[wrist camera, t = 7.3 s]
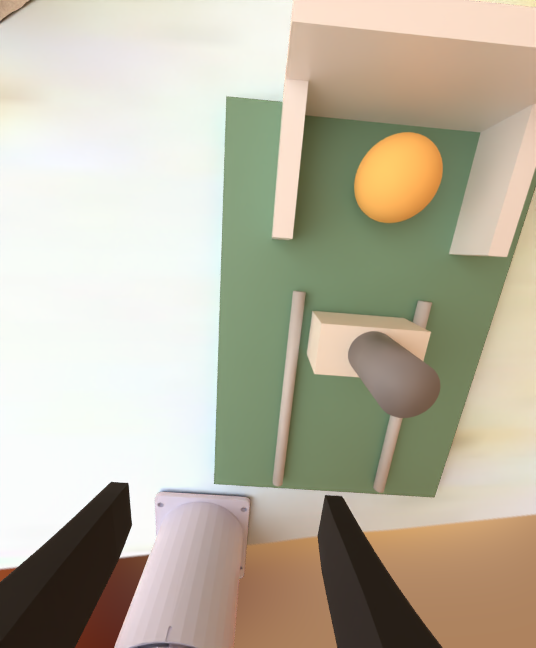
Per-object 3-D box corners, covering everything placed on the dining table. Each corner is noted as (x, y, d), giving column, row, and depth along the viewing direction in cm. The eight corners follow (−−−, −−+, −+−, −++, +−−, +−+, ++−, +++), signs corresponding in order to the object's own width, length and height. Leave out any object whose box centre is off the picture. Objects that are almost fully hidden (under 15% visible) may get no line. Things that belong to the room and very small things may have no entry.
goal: (464, 255, 16) (572, 259, 11) (271, 238, 16) (274, 233, 10) (503, 112, 14) (664, 21, 9) (283, 90, 14) (294, -20, 8)
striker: (394, 360, 18) (469, 426, 11) (306, 353, 18) (330, 417, 11) (403, 317, 17) (491, 362, 11) (312, 310, 17) (341, 351, 10)
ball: (420, 155, 15) (405, 230, 16) (350, 148, 15) (339, 224, 16) (474, 119, 11) (451, 220, 12) (380, 109, 11) (364, 212, 12)
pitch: (427, 486, 23) (440, 506, 21) (216, 473, 22) (212, 492, 20) (536, 136, 16) (570, 122, 14) (229, 106, 15) (223, 87, 13)
